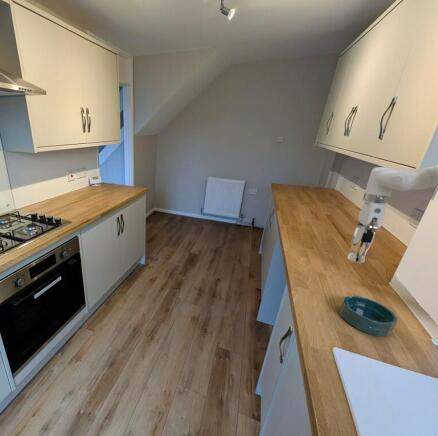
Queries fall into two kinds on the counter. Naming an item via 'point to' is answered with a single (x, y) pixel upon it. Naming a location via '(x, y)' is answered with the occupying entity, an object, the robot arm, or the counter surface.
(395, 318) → the bowl
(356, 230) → the beer glass
